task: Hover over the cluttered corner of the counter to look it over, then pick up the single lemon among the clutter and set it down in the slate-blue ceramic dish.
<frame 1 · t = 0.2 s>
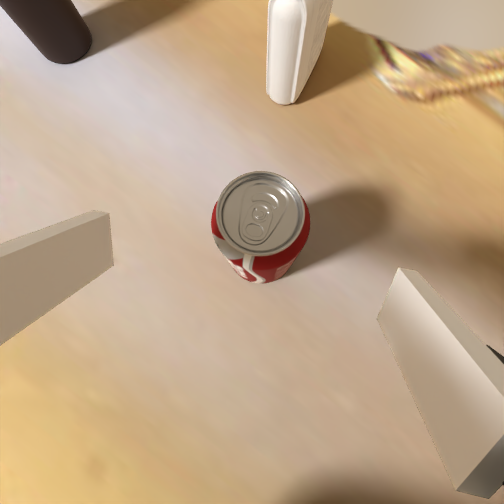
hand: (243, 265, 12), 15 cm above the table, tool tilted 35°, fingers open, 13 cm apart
bottle: (68, 45, 35), on the table
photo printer: (294, 73, 33), on the table
soda can: (261, 252, 28), on the table
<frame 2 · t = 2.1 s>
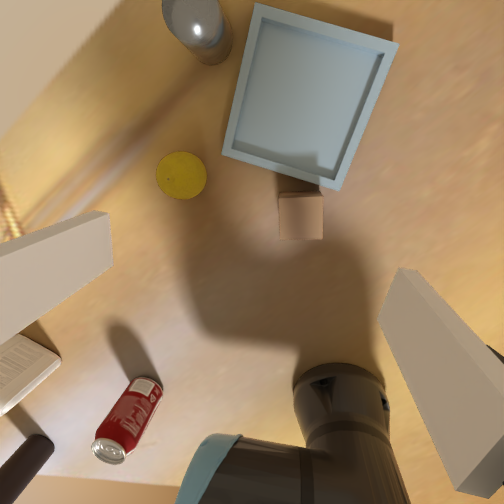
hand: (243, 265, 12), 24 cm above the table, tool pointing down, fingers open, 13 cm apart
grey tin: (211, 38, 30), on the table
dish: (300, 107, 31), on the table
walnut block: (299, 210, 35), on the table
lemon: (194, 173, 36), on the table
bottle: (43, 442, 63), on the table
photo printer: (39, 349, 52), on the table
soda can: (148, 386, 51), on the table
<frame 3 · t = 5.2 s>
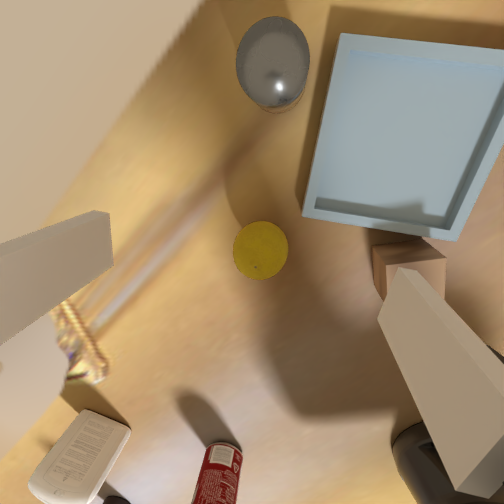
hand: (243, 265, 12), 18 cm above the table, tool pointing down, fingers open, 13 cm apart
grey tin: (277, 82, 24), on the table
dish: (396, 147, 25), on the table
walnut block: (396, 262, 29), on the table
lemon: (264, 235, 31), on the table
bottle: (119, 502, 62), on the table
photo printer: (107, 420, 50), on the table
soda can: (225, 449, 48), on the table
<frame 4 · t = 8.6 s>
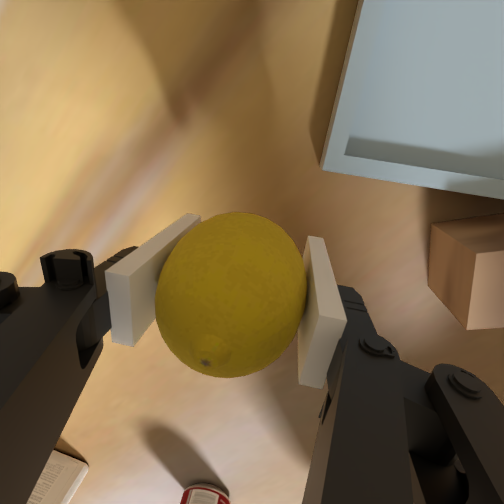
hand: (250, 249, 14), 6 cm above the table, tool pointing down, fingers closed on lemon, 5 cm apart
dish: (498, 40, 14), on the table
walnut block: (468, 250, 19), on the table
lemon: (251, 245, 14), point 6 cm above the table, touching gripper
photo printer: (57, 453, 39), on the table
soda can: (208, 491, 38), on the table
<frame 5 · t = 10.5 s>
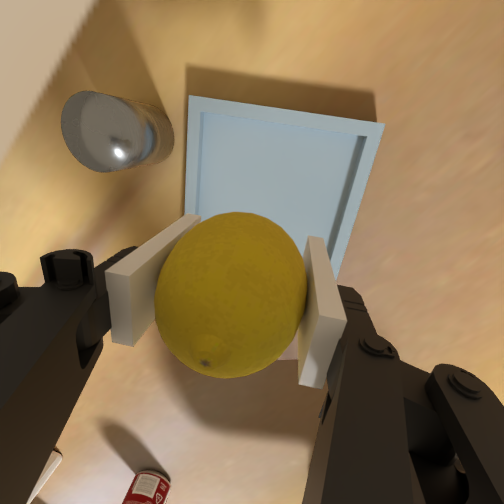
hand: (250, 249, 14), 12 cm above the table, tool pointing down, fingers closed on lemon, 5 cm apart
grey tin: (148, 135, 24), on the table
dish: (269, 200, 25), on the table
lemon: (251, 245, 14), point 12 cm above the table, touching gripper
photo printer: (38, 445, 49), on the table
soda can: (155, 477, 48), on the table
when the fingers open (2 cm above the table, at t = 12.5 s): lemon stays where it is, resting on dish.
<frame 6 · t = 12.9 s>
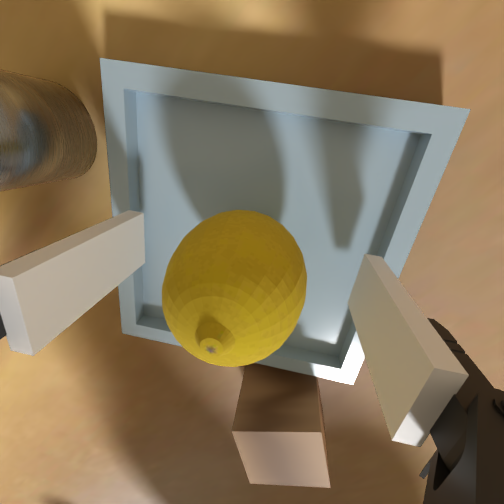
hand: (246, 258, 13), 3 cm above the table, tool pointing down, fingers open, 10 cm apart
grey tin: (55, 132, 15), on the table
dish: (254, 238, 15), on the table
walnut block: (285, 387, 20), on the table
lemon: (253, 242, 15), point 1 cm above the table, touching dish
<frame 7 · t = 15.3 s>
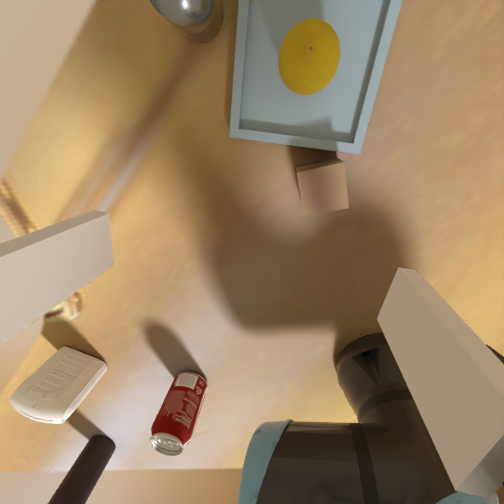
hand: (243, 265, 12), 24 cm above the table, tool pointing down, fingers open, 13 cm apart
grey tin: (199, 13, 28), on the table
dish: (305, 70, 29), on the table
walnut block: (319, 182, 33), on the table
lemon: (306, 69, 28), point 1 cm above the table, touching dish
bottle: (104, 441, 68), on the table
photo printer: (85, 357, 55), on the table
soda can: (192, 379, 53), on the table
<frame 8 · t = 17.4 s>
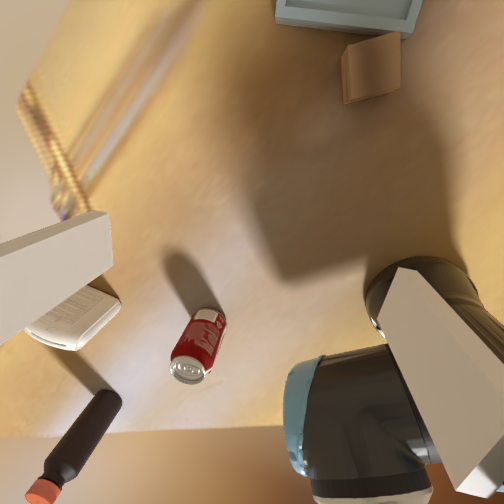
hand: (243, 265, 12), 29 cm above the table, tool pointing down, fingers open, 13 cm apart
walnut block: (363, 76, 32), on the table
bottle: (110, 398, 65), on the table
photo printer: (98, 296, 52), on the table
soda can: (210, 320, 50), on the table
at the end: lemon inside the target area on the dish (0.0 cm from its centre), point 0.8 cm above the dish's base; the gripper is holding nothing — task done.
